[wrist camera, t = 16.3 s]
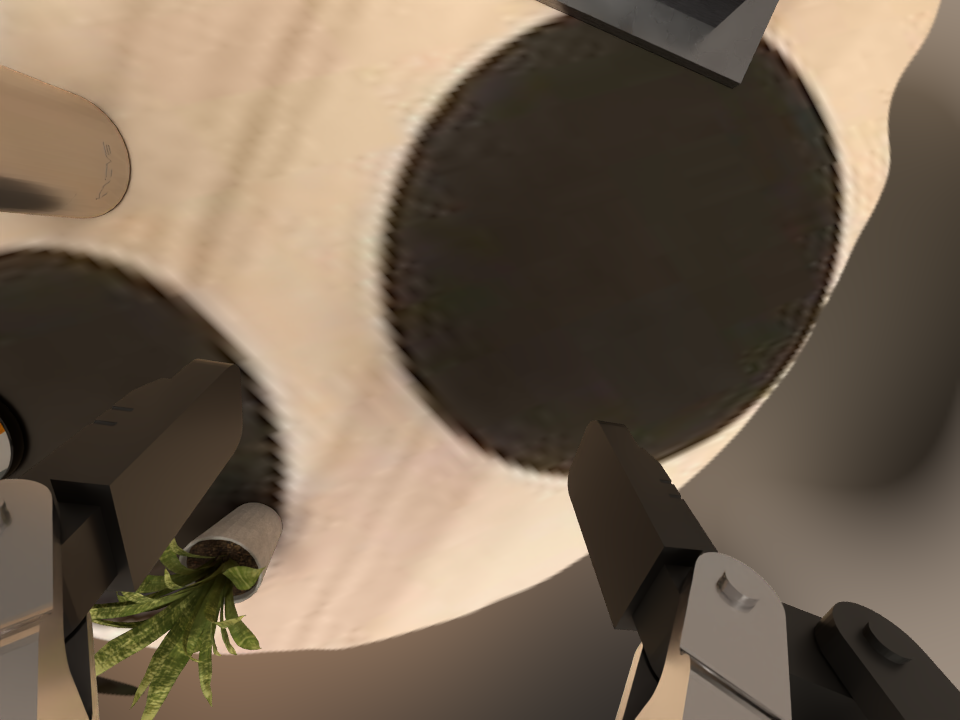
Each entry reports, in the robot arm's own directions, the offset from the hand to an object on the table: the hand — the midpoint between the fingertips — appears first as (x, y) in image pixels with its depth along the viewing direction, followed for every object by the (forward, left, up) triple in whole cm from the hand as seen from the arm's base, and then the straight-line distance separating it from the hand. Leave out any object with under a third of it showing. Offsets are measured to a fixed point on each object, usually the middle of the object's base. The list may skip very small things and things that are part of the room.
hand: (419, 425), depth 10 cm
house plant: (-11, -27, -28) cm, 40 cm away
